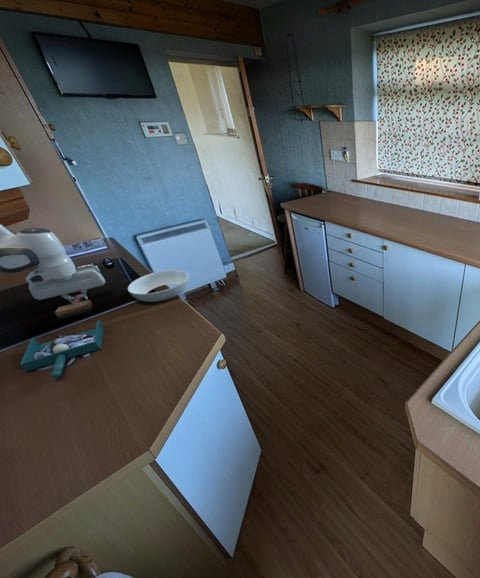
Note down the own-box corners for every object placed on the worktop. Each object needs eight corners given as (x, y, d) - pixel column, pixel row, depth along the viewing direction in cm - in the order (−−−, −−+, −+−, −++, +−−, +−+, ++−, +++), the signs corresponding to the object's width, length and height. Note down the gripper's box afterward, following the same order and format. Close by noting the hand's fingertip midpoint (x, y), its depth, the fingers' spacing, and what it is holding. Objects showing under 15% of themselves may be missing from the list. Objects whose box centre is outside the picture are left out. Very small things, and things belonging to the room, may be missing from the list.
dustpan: (38, 345, 97) (31, 337, 95) (104, 327, 106) (99, 319, 104) (17, 395, 80) (9, 386, 78) (97, 368, 89) (91, 360, 87)
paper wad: (50, 346, 92) (60, 354, 94) (47, 351, 90) (57, 359, 92) (64, 339, 94) (73, 347, 96) (61, 344, 91) (71, 352, 93)
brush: (92, 312, 112) (87, 304, 110) (60, 320, 107) (54, 312, 106) (98, 298, 123) (93, 291, 121) (69, 305, 119) (64, 297, 117)
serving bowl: (190, 302, 120) (184, 287, 116) (128, 313, 113) (120, 298, 109) (196, 279, 136) (191, 265, 133) (142, 287, 129) (135, 274, 126)
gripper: (96, 260, 117) (113, 289, 125) (24, 274, 107) (46, 305, 114) (94, 266, 113) (112, 295, 120) (19, 281, 103) (42, 313, 110)
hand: (79, 300), depth 117 cm, fingers closed on brush, 2 cm apart
